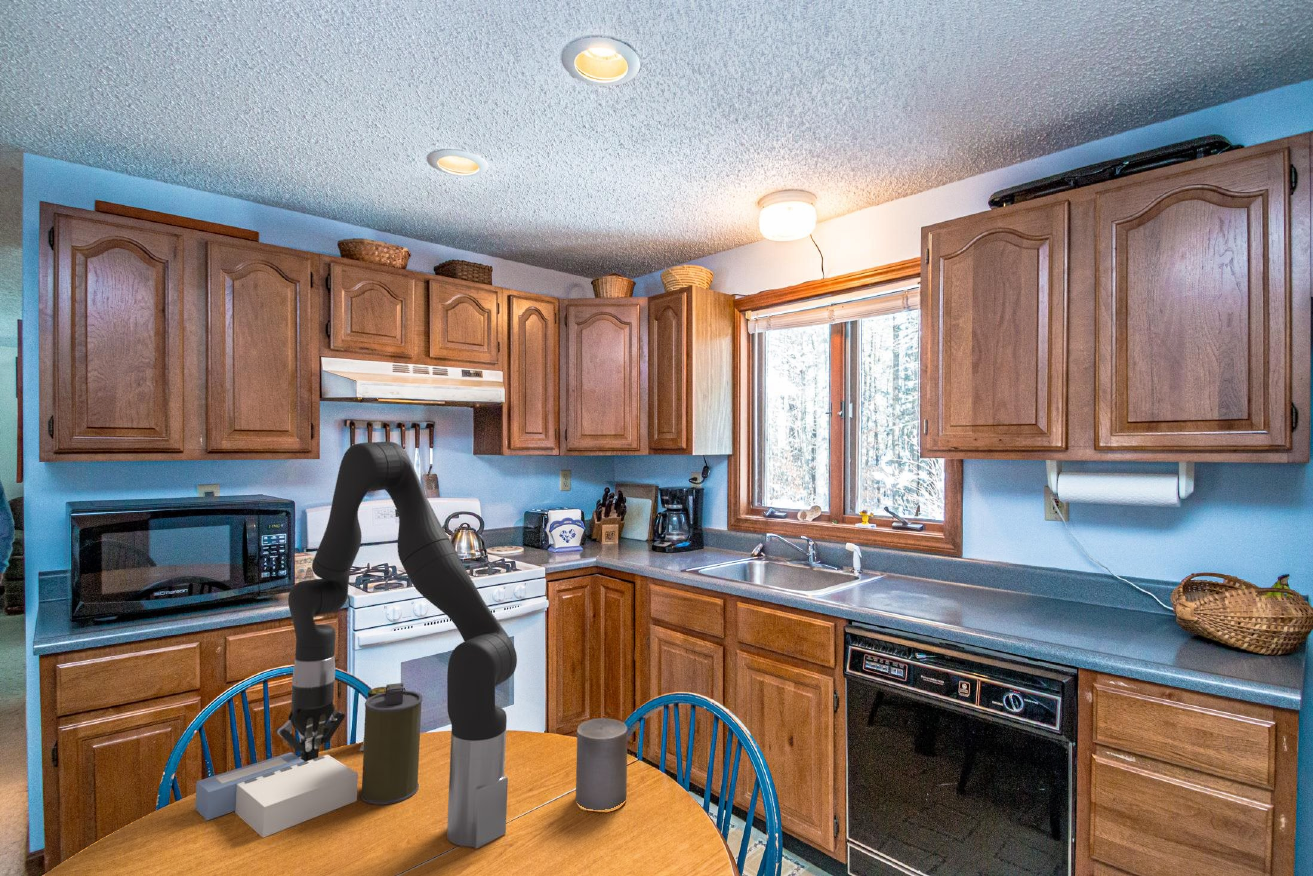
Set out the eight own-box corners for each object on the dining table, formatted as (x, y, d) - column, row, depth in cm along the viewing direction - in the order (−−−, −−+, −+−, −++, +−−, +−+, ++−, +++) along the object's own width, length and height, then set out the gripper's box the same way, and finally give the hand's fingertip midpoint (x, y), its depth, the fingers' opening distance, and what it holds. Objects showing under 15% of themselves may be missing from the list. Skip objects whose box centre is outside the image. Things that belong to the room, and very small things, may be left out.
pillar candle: (610, 783, 130) (612, 707, 131) (635, 805, 122) (637, 724, 122) (566, 796, 125) (568, 717, 125) (589, 820, 117) (591, 735, 117)
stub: (303, 786, 125) (304, 760, 125) (207, 820, 112) (208, 791, 112) (289, 777, 128) (291, 751, 129) (195, 808, 116) (196, 780, 116)
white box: (356, 800, 121) (358, 772, 121) (262, 837, 108) (264, 806, 108) (326, 780, 128) (327, 754, 128) (235, 812, 115) (236, 783, 116)
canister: (421, 799, 122) (426, 691, 123) (360, 809, 118) (366, 697, 119) (415, 773, 132) (420, 674, 133) (359, 783, 127) (364, 679, 128)
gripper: (286, 692, 122) (281, 786, 121) (355, 676, 132) (351, 762, 132) (270, 683, 127) (265, 773, 126) (337, 668, 137) (333, 751, 136)
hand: (309, 768), depth 129 cm, fingers closed
